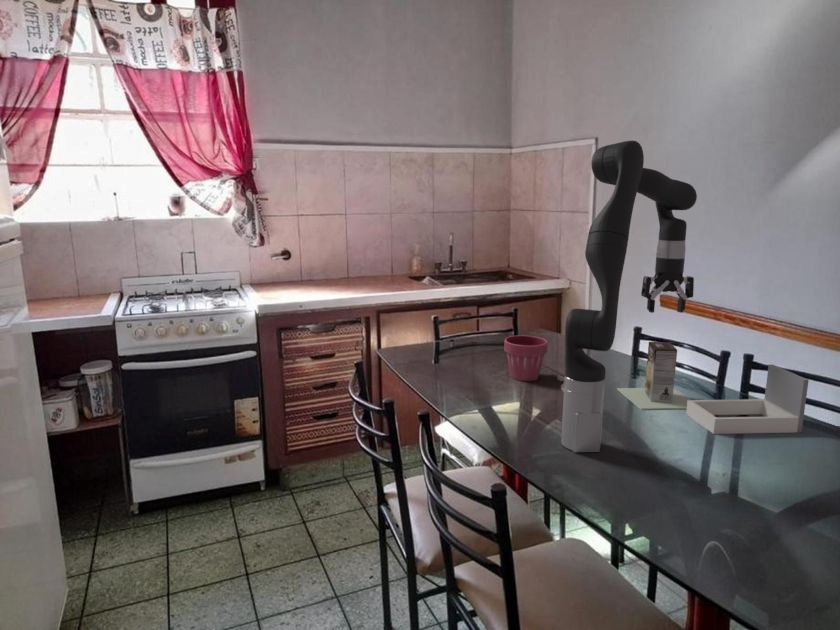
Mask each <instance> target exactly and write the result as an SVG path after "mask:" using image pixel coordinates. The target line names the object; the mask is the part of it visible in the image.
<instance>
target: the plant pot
mask: <svg viewBox="0 0 840 630" xmlns="http://www.w3.org/2000/svg"><path fill="white" fill-rule="evenodd" d="M503 342H504V345H503V350H504V352H505V353H506V356H507V363H508V368H509V374H510V378H512V379H513V380H515V381H520V382H531V381H532V382H533V381H536V380H538V379H539V375H540V373H541V369H542V366H543V365H542V364H543V362H544V357H545V355H546V354H547V353H548V347H549V346H548V343H549V342H548V340H547V339H545V338H543V337H539V336H535V335H527V334H526V335H524V334H523V335H522V334H521V335H520V334H519V335H518V334H517V335H512V336H511V335H510V336H507V337H506V338H505V339H504V341H503Z"/></svg>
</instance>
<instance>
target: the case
mask: <svg viewBox="0 0 840 630" xmlns="http://www.w3.org/2000/svg"><path fill="white" fill-rule="evenodd" d="M766 376H767V377H766V383H765V392H764V398H762V399H761V398H759V399H758V398H757V399H755V398H754V399H752V398H751V399H750V398H749V399H701V400H700V399H697V400H696V399H695V400H693V399H691V400H687V409H686V411H685V415H686V416H688V417H689V418H691V419H692V420H693V421H695V422H697V423H698V424H699V425H701V426H702V427H703V428H705V429H706V430H707V431H708V432H710V433H712V434H713V435H726V434H728V435H729V434H731V435H732V434H733V435H734V434H773V433H774V434H780V433H781V434H782V433H786V434H787V433H802V430H803V424H804V416H805V410H806V403H807V402H806V401H807V395H808V388H809V381H810V379H807V378H805V377H803V376H800V375H798V374H796V373H794V372H791V371H789V370H787V369H785V368H782V367H780V366H778V365H775V364H768V368H767V375H766ZM728 415H731V416H732V417H731V416H730V417H726V416H728ZM734 415H736V416H734ZM737 415H743V416H738V417H737ZM744 415H761V416H744ZM716 416H722V417H716ZM723 416H724V417H723Z"/></svg>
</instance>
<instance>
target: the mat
mask: <svg viewBox="0 0 840 630" xmlns="http://www.w3.org/2000/svg"><path fill="white" fill-rule="evenodd" d="M616 390H617V391H618V392H620V393H621V394H622V395H623V396H624V397H626V399H628V400H629V401H630V402H631V403H633V404H634V405H635V406H636V407H637V408H639V409H640V410H643V411H645V410H646V411H647V410H648V411H650V410H687V400H692V399H691V398H690V397H688V396H687V395H685V394H684V393H683V392H681V391H679V390H678V389H677V388H675V387H674V388H673V399H672V403H671V402H652V401H650V399H649V398H648V396H647V394H646V393H645V387H617V388H616Z"/></svg>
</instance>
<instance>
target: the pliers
mask: <svg viewBox="0 0 840 630" xmlns="http://www.w3.org/2000/svg"><path fill="white" fill-rule="evenodd" d="M556 377H557V380H558V381H560V382H562V384H561V385H560V390H562V392H563V393H564V383H565V376H562V375H560V374H558V375H557V376H556Z"/></svg>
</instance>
